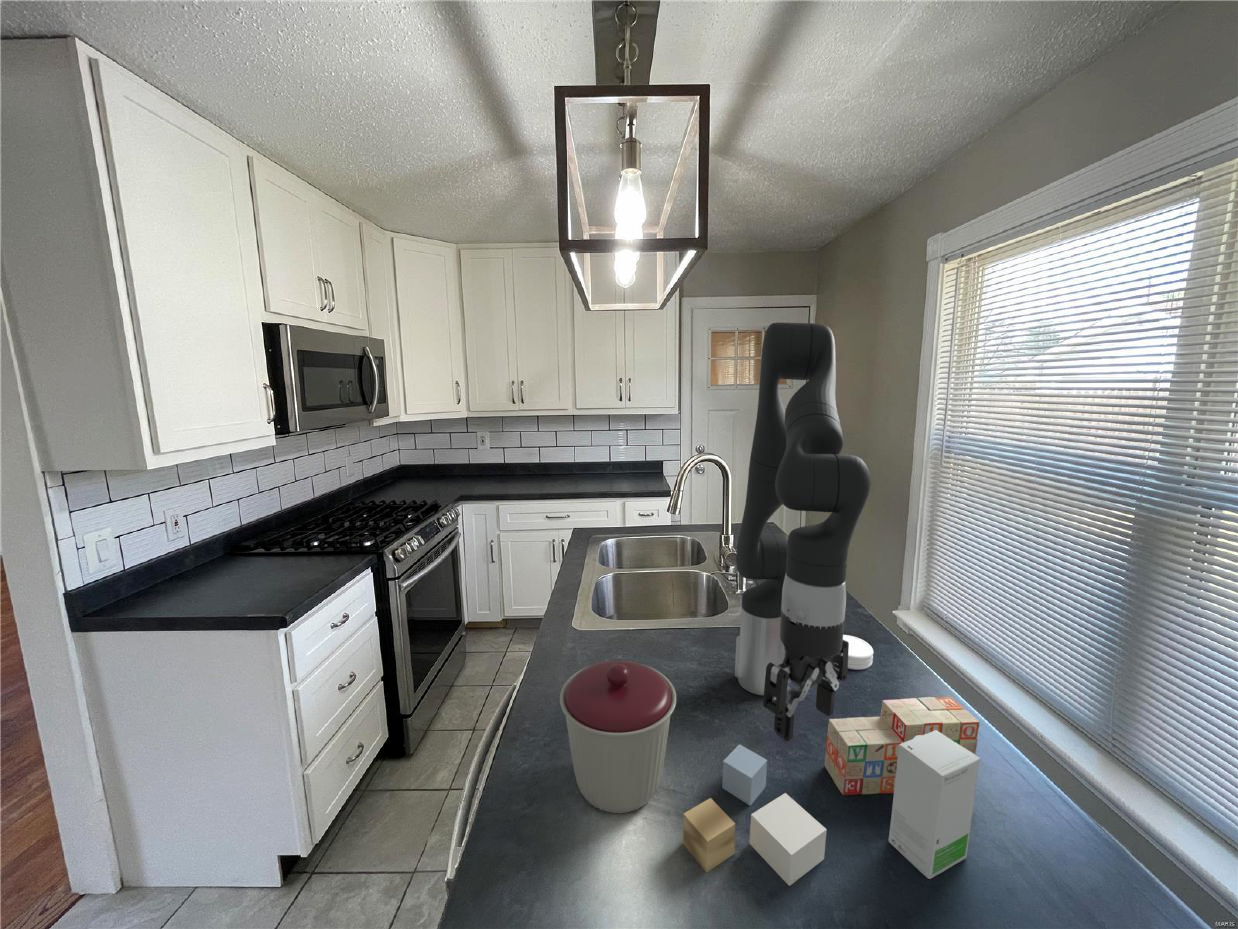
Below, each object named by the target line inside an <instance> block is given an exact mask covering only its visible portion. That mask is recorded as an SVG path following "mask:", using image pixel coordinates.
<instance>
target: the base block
mask: <svg viewBox="0 0 1238 929" xmlns="http://www.w3.org/2000/svg"><path fill="white" fill-rule="evenodd" d="M826 841H827V828H826V827H825V826H824V825H822V824H821V823H820V821H818V820H817V819H815V818H814V817H813V815H811V814H810V813H809V812H808V811H806V810H805V809H804V808H803V807H802V806H801V805H800V804H799V803H798V802H796V801H795V800H794V799H793V798H792V797H791V796H790V795H788V793H786V792H784V793H783V794H782V795H780V796H778V797H776V798H775V799H773V800H772V801H770V802H768V803H767V804H765V805H764V806H762V807H761V808H758V809H757V810H755V812H752V813H751V814H750V830H749V845H750V846H751V847H752V848H753V849H754V850H755V851H756V852H757V853H758V854H759V856H760V857H762V859H763V860H764V861H765V862H766V863H767V864H768V865H769V866H770V867H771V868H772V869H773V871H775V873H776V874H777V875H778V877H779V876H780V878H781V879H782V880H783V881H784V882H785V883H786V884H787V885H788V886H789V887H790V886H792V885H793V884H794V883H796V882H797V881H798V880H799V879H800V878H802V877H804V875H806V874H807V873H809V872H810V871H811V870H812V869H814V868H815V867H816V866H817V865H819V864H820V863H821V862H823V860H825V854H826V853H825V851H826Z"/></svg>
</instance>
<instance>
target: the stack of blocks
mask: <svg viewBox="0 0 1238 929" xmlns="http://www.w3.org/2000/svg"><path fill="white" fill-rule="evenodd" d="M881 702H882V703H881V710H880V716H867V717H866V716H865V717H861V716H859V717H846V718H844V717H843V718H829V719H828V727H827V735H826V744H825V745H826V746H825V755H824V756H825V757H824V767H825V770H827V772H828V774H829V775H830V778H832V780H833V782H834V784H835V785H836V787H837V788H838V790H839V792H840V793H841V795H842V796H849V795H874V794H894V788H895V778H896V769H897V760H898V747H899V744H901V743H904V742H907V741H909V740H912V739H914V737H915V736H917V735H925V734H927V733H930V732H933V731H935V730H937V731H938V732H940V733H942V734H943V735H945V736H946V737H948V738H949V739H951V740H952V741H954V742H955V743H957V744H959V745H960V746H962V747H963V748H965V749H967V750H968V751H970V752H972V753H973V754H975V755H976V754H977V753H976V752H977V749H978V747H977V746H978V734H979V728H980V720H978V719H977V718H976V717H975V716H973V715H972V714H971V713H970V712H969V710H968V709H965V707H964V706H962V705H961V704H960V703H959V702H957V701H956V700H955V699H954V698H953V697H952V696H949V697H947V696H946V697H944V696H943V697H933V696H926V697H917V698H916V697H913V698H900V699H897V698H896V699H884V700H881Z"/></svg>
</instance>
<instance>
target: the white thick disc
mask: <svg viewBox="0 0 1238 929" xmlns="http://www.w3.org/2000/svg"><path fill="white" fill-rule="evenodd" d="M843 640H845V641H847V642H848V643H849V650H848V670H849V669H850V670H861V671H862V670H867V669H868V668H870V667H871V666H872V665H873V662H874V649H873V647H872V645H870V644H869V643H868V642H867V641H865V640H864V639H862V638H859V637H857V636H853V635H848V634H843ZM835 665H837V666H839V665H838V664H837V663H835Z"/></svg>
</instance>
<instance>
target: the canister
mask: <svg viewBox="0 0 1238 929" xmlns="http://www.w3.org/2000/svg"><path fill="white" fill-rule="evenodd" d="M559 705H560V708H561V710H562V713H563V714H564V716H565V720H566V728H567V732H568V733H567V735H568V742H569V747H570V754H571V761H572V766H573V772H574V775H575V781H576V784H577V787H578V789H579V791H580V792H581V794H582V796H583V797H584V799H585V800H586V801H588V803H589V804H590V805H592V806H593V807H594V808H597V809H599V810H600V811H605V812H606V813H612V814H616V813H617V814H622V813H629V812H634V811H635V810H638V809H640V808H641V807H644V806H645V805H646V804H647V803H649V801H651V799H652V798H653V797H654V796H655V794H656V792H657V791H658V788H659V785H660V783H661V781H662V775H663V769H664V763H665V757H666V752H667V744H668V735H669V730H670V724H671V723H670V721H671V716H672V714H673V713H674V711H675V709H676V708H675V707H676V705H677V693H676V689H675V687H674V685H673V684H672V682H671V681H670V680H669V679H668V677H667V676H665V675H664V674H663V673H661V672H660V671H658V669H656V668H653V667H652V666H649V665H646V664H642V663H639V662H636V661H631V660H622V659H621V660H606V661H601V662H597V663H593V664H591V665H589V666H586V667H584V668H582V669H580V670H578V671H577V672H575V673H574V674H572V675H571V676H570V677H569V678H568V679H567V680H566V681H565V683H564V684H563V686H562V688H561V690H560V695H559Z"/></svg>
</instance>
